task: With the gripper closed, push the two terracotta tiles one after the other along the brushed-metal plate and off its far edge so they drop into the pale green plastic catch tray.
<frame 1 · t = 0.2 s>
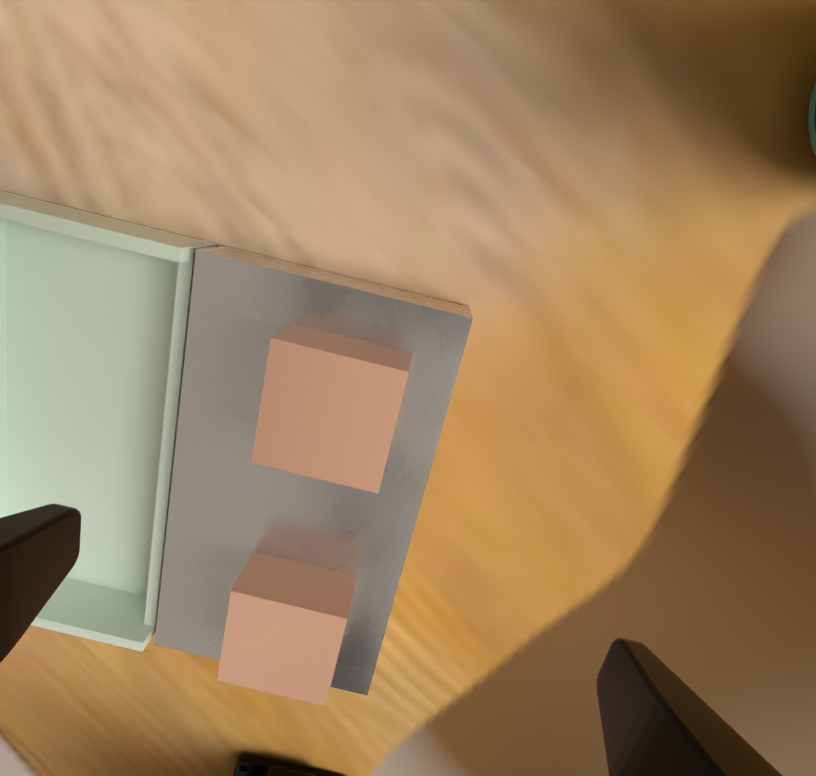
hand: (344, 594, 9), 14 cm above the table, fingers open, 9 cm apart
tile b: (340, 394, 20), point 2 cm above the table, touching plate
tray: (98, 422, 24), on the table
plate: (308, 473, 24), on the table
tile a: (296, 605, 23), point 2 cm above the table, touching plate
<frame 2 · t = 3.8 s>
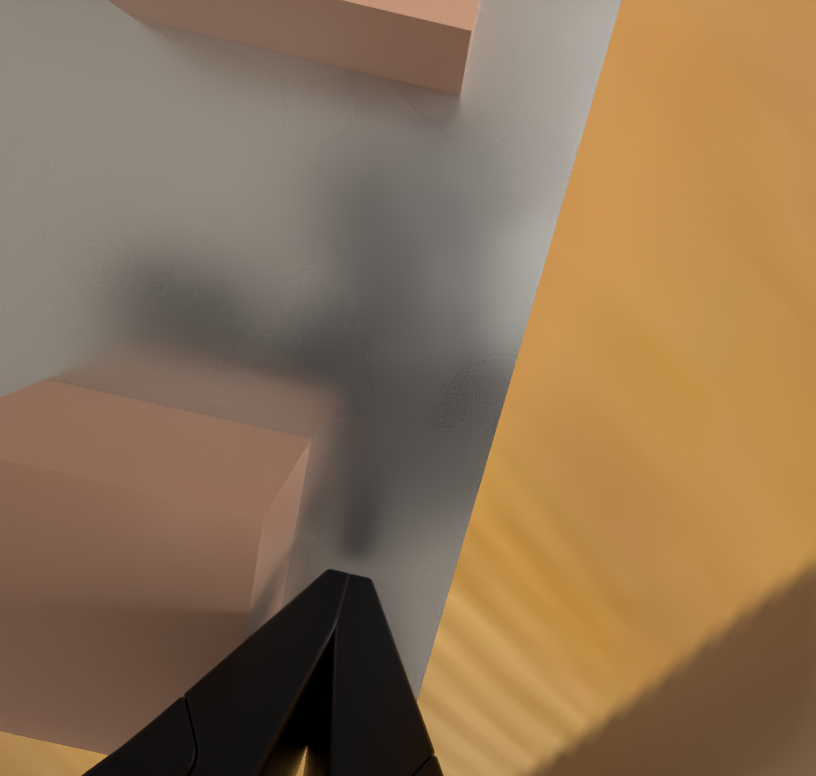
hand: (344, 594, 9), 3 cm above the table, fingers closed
plate: (259, 241, 10), on the table
tile a: (168, 524, 9), point 2 cm above the table, touching gripper, plate
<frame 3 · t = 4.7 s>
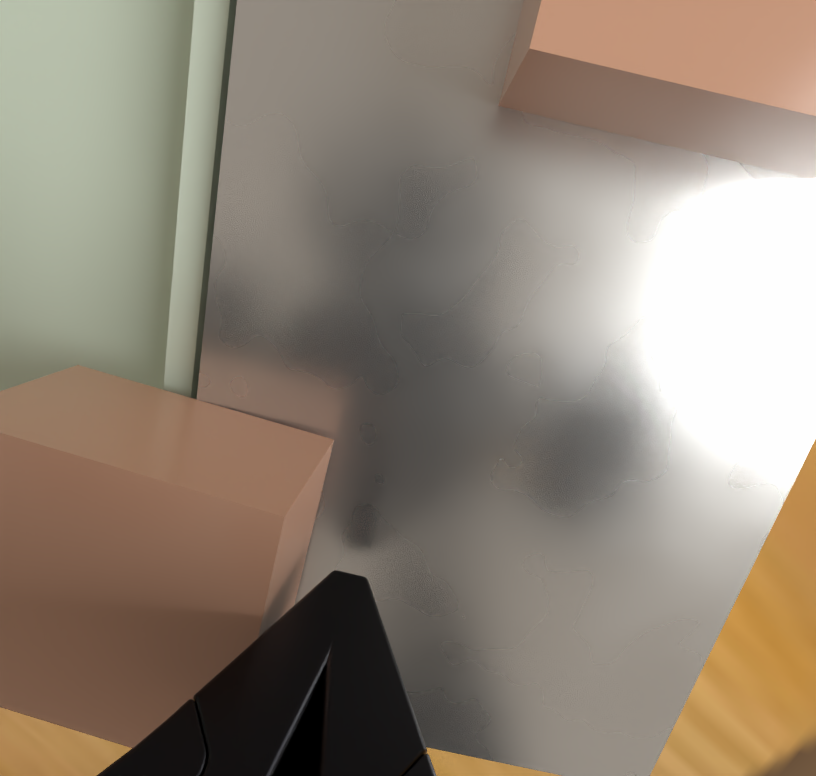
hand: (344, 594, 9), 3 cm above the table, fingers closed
tray: (30, 188, 10), on the table
plate: (508, 296, 11), on the table
tile a: (187, 516, 9), point 3 cm above the table, touching gripper
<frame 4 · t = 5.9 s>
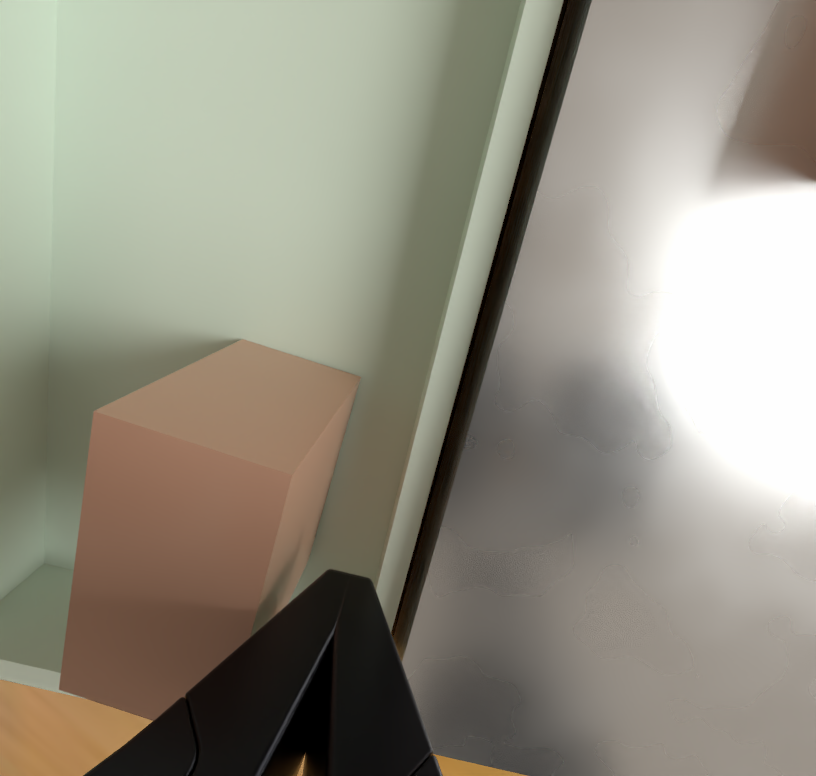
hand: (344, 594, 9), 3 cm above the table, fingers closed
tray: (258, 237, 10), on the table
plate: (731, 351, 11), on the table
tile a: (303, 530, 9), point 3 cm above the table, tilted 92°, touching gripper, tray
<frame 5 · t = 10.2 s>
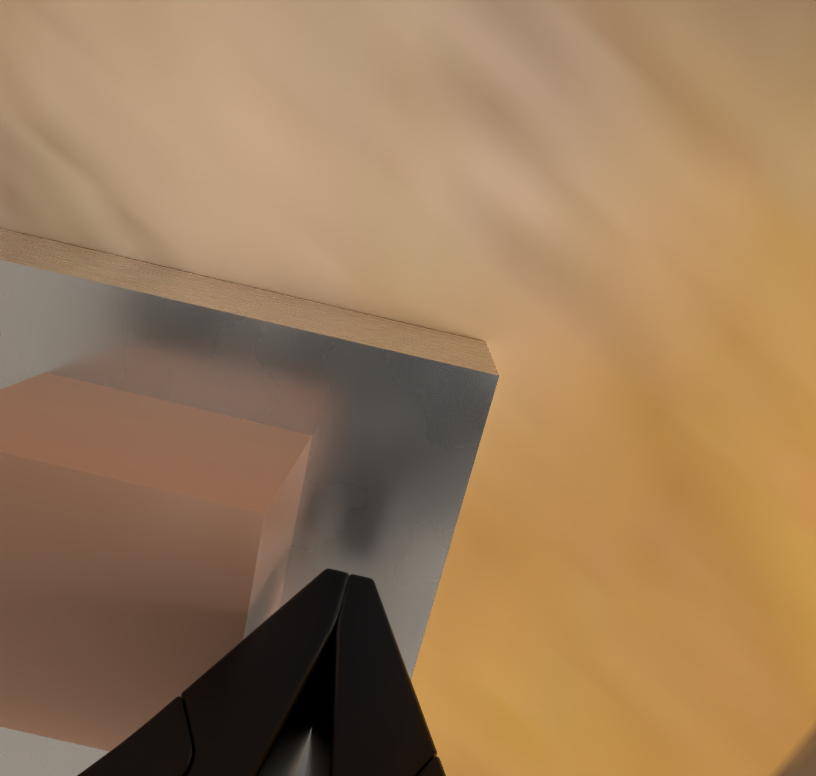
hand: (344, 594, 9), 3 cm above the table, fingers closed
tile b: (167, 519, 9), point 2 cm above the table, touching gripper, plate
plate: (198, 637, 13), on the table
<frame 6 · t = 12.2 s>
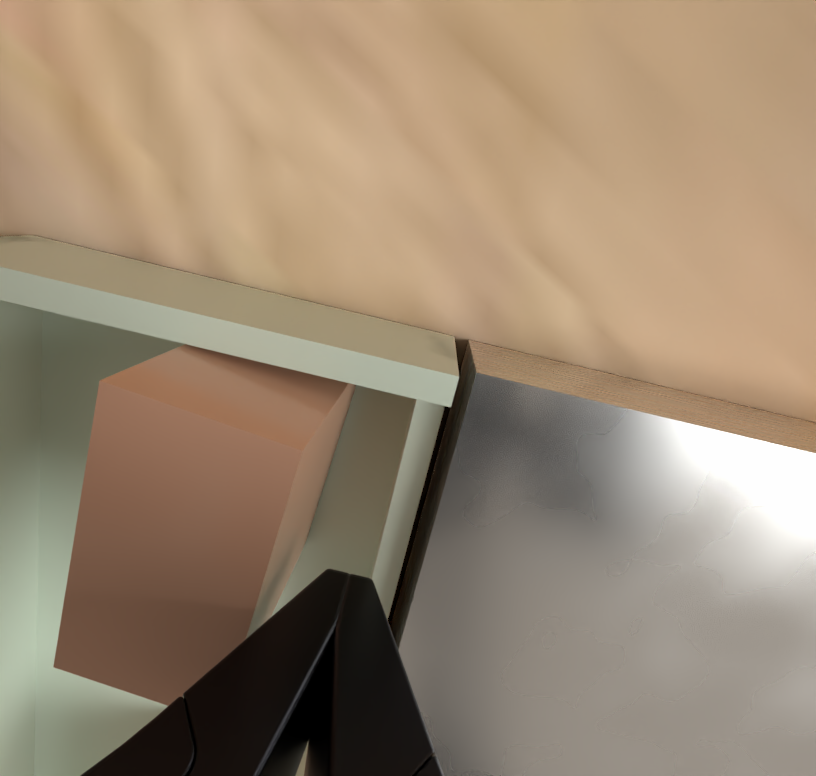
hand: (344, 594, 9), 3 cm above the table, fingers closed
tile b: (304, 512, 9), point 3 cm above the table, tilted 91°, touching gripper, tray
tray: (197, 636, 13), on the table
plate: (567, 722, 13), on the table
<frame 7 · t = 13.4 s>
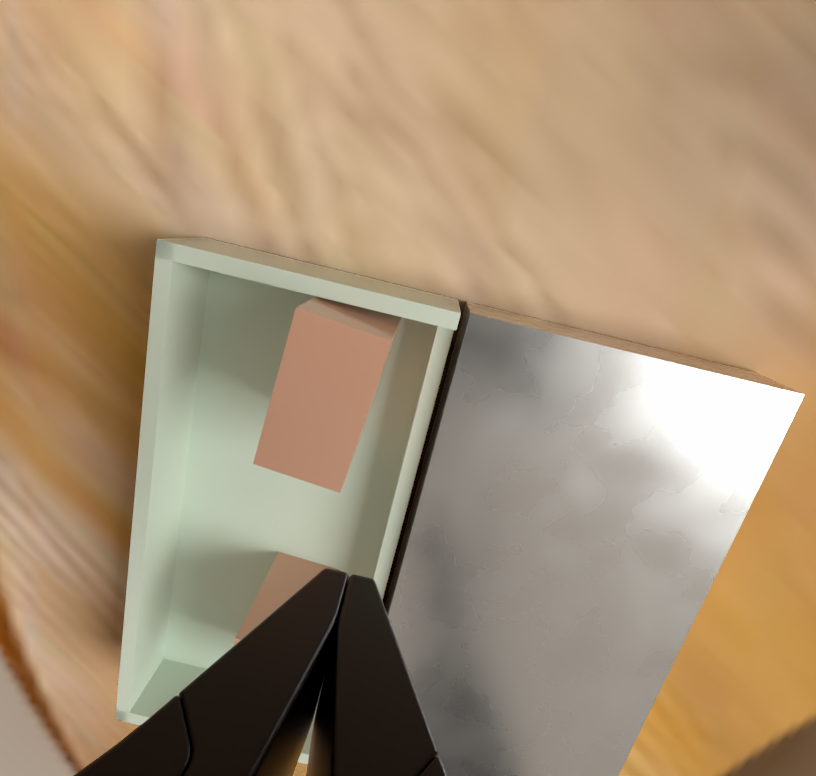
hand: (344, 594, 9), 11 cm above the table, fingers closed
tile b: (374, 394, 16), point 3 cm above the table, tilted 90°, touching tray
tray: (287, 501, 20), on the table
plate: (531, 560, 20), on the table
tile a: (313, 659, 19), point 3 cm above the table, tilted 90°, touching tray
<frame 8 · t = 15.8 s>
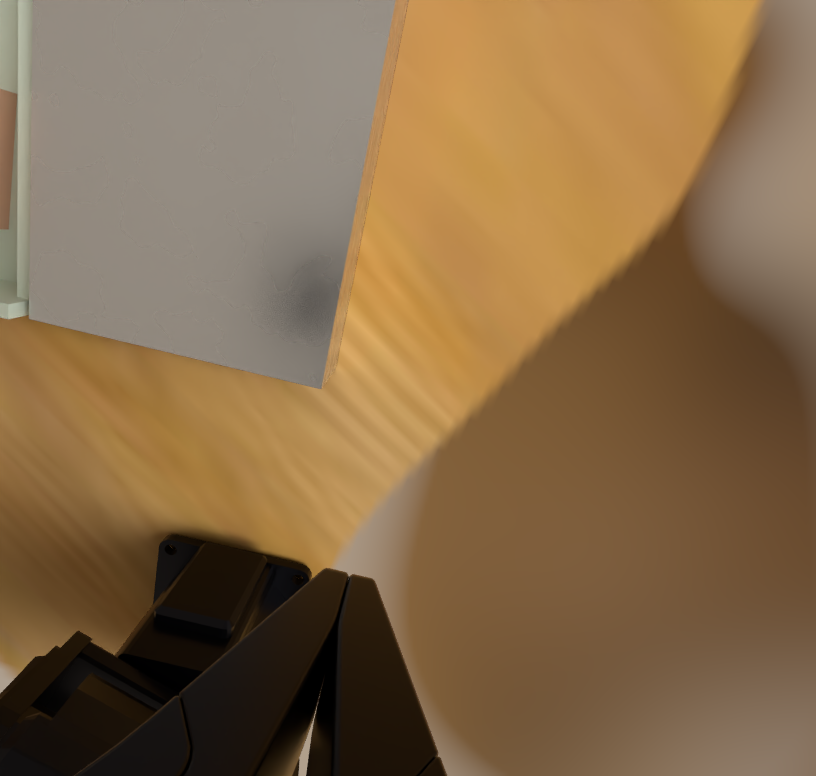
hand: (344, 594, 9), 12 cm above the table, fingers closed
plate: (237, 77, 17), on the table
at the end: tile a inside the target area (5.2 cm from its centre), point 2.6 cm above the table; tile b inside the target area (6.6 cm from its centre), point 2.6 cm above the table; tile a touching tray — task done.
